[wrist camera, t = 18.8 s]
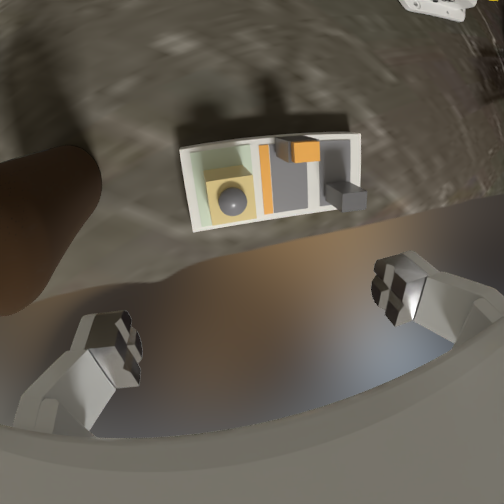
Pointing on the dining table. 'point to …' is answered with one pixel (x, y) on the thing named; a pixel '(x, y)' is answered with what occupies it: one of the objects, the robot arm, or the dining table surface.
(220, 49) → the dining table surface
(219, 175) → the tan block with knob
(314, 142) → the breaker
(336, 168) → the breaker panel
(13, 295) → the olive oil
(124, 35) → the dining table surface
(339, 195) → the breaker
